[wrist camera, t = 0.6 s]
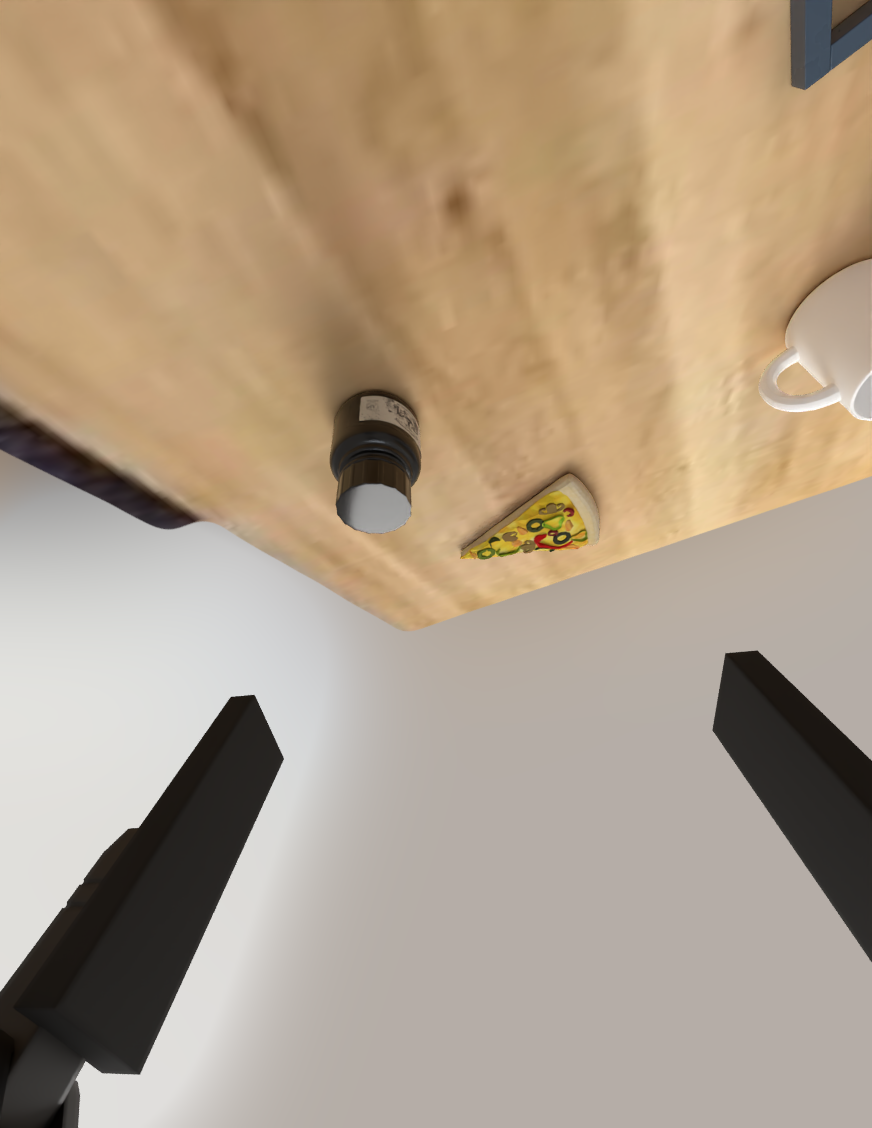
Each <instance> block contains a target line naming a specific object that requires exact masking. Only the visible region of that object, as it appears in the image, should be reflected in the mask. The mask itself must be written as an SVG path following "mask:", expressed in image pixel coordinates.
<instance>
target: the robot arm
mask: <svg viewBox="0 0 872 1128" xmlns="http://www.w3.org/2000/svg"><path fill="white" fill-rule="evenodd" d="M713 732H714V733H715V734H716V736H717V737H718V739H719V740H720V742H721V743H722V745H723V746H724V748H725V749H726V751H727V752H728V753H729V755H730V756H731V758H732V759H733V760H734V762H735V764H736V765H737V767H738V768H739V769H740V771H741V772H742V774H743V775H744V777H745V778H746V780H747V781H748V783H749V784H750V785H751V787H752V788H753V790H754V791H755V793H756V794H757V796H758V797H759V798H760V800H761V802H762V803H763V804H764V806H765V807H766V808H767V810H768V812H769V813H770V815H771V816H772V818H773V819H774V820H775V822H776V823H777V825H778V826H779V828H780V829H781V831H782V832H783V834H784V835H785V836H786V838H787V839H788V840H789V842H790V844H791V845H792V846H793V848H794V850H795V851H796V852H797V854H798V855H799V857H800V858H801V860H802V861H803V863H804V864H805V866H806V867H807V868H808V870H809V871H810V873H811V874H812V876H813V877H814V879H815V880H816V882H817V883H818V885H819V886H820V887H821V889H822V890H823V892H824V893H825V894H826V896H827V898H828V899H829V901H830V902H831V903H832V905H833V906H834V908H835V909H836V911H837V912H838V914H839V915H840V916H841V918H842V919H843V921H844V922H845V924H846V925H847V927H848V928H849V930H850V931H851V932H852V934H853V935H854V937H855V938H856V940H857V941H858V943H859V944H860V946H861V947H862V948H863V950H864V951H865V953H866V954H867V956H868V957H869V959H870V960H871V962H872V761H871V760H870V759H869V758H868V757H867V756H866V755H865V754H864V753H863V752H862V751H861V750H860V749H859V748H858V747H857V746H856V745H855V744H854V743H853V742H852V741H851V740H850V739H849V738H848V737H847V736H846V735H844V734H843V733H842V732H841V731H840V730H839V729H838V728H837V727H836V726H835V725H834V724H833V723H832V722H831V721H830V720H829V719H828V718H827V717H826V716H825V715H824V714H823V713H822V712H821V711H820V710H819V709H817V708H816V707H815V706H814V705H813V704H812V703H811V702H810V701H809V700H808V699H807V698H806V697H805V696H804V695H803V694H802V693H801V692H800V691H799V690H798V689H797V688H796V687H795V686H794V685H793V684H792V683H790V682H789V681H788V680H787V679H786V678H785V677H784V676H783V675H782V674H781V673H780V672H779V671H778V670H777V669H776V668H775V667H774V666H773V665H772V664H771V663H770V662H769V661H768V660H767V659H766V658H765V657H763V655H761V654H760V653H759V652H758V651H748V652H736V653H726V654H725V660H724V665H723V671H722V677H721V683H720V689H719V695H718V701H717V707H716V713H715V719H714V725H713ZM283 760H284V758H283V756H282V753H281V751H280V749H279V747H278V745H277V743H276V740H275V738H274V736H273V734H272V732H271V729H270V727H269V725H268V723H267V721H266V719H265V716H264V714H263V712H262V710H261V708H260V706H259V703H258V701H257V699H256V697H255V695H248V696H236V697H231V698H230V699H229V700H228V702H227V703H226V705H225V706H224V708H223V709H222V711H221V712H220V713H219V715H218V716H217V718H216V719H215V720H214V722H213V723H212V725H211V726H210V727H209V729H208V730H207V732H206V733H205V735H204V736H203V737H202V739H201V740H200V742H199V743H198V745H197V746H196V747H195V749H194V750H193V752H192V753H191V754H190V756H189V757H188V759H187V760H186V762H185V763H184V764H183V766H182V767H181V769H180V770H179V771H178V773H177V774H176V776H175V777H174V779H173V780H172V782H171V783H170V785H169V786H168V787H167V789H166V790H165V792H164V793H163V794H162V796H161V797H160V799H159V800H158V801H157V803H156V804H155V806H154V807H153V808H152V810H151V811H150V813H149V814H148V816H147V817H146V818H145V820H144V821H143V823H142V824H141V826H140V827H139V828H131V829H128V830H127V831H126V832H125V833H124V834H123V835H121V836H120V837H119V838H118V839H117V840H116V841H115V842H114V843H113V844H112V845H111V846H110V847H109V848H108V849H107V850H106V851H104V853H103V854H102V855H101V857H100V858H99V859H98V861H97V862H96V864H95V865H94V866H93V867H92V869H91V870H90V872H89V873H88V874H87V876H86V877H85V878H84V883H83V884H82V885H79V886H78V888H77V889H76V890H75V892H74V893H73V895H72V896H71V897H70V899H69V900H68V901H67V906H66V907H65V908H62V909H61V911H60V912H59V914H58V915H57V916H56V918H55V919H54V920H53V922H52V923H51V924H50V926H49V927H48V928H47V930H46V931H45V933H44V934H43V935H42V936H41V938H40V939H39V941H38V942H37V943H36V945H35V946H34V947H33V949H32V950H31V951H30V953H29V954H28V955H27V957H26V958H25V959H24V961H23V962H22V964H21V965H20V966H19V968H18V969H17V970H16V972H15V973H14V974H13V976H12V977H11V978H10V980H9V981H8V982H7V984H6V985H5V986H4V988H3V989H2V990H1V992H0V1128H78V1117H79V1102H80V1094H79V1088H78V1082H77V1081H75V1079H76V1077H77V1076H78V1074H79V1072H80V1070H81V1068H82V1067H83V1065H84V1063H85V1061H86V1062H88V1063H89V1064H91V1065H92V1066H93V1067H95V1068H96V1069H97V1070H99V1071H100V1072H101V1073H112V1074H113V1073H115V1074H140V1073H141V1071H142V1068H143V1066H144V1064H145V1062H146V1059H147V1058H148V1055H149V1053H150V1051H151V1049H152V1046H153V1044H154V1042H155V1040H156V1038H157V1036H158V1033H159V1031H160V1029H161V1027H162V1025H163V1022H164V1020H165V1018H166V1016H167V1014H168V1011H169V1009H170V1007H171V1005H172V1003H173V1001H174V998H175V996H176V994H177V992H178V989H179V987H180V985H181V983H182V981H183V979H184V977H185V974H186V972H187V970H188V968H189V966H190V963H191V961H192V959H193V956H194V954H195V952H196V950H197V948H198V946H199V944H200V942H201V939H202V937H203V935H204V933H205V931H206V928H207V926H208V924H209V922H210V920H211V917H212V915H213V913H214V911H215V909H216V906H217V904H218V902H219V900H220V898H221V895H222V893H223V891H224V889H225V887H226V884H227V882H228V880H229V878H230V876H231V873H232V871H233V869H234V867H235V865H236V863H237V860H238V858H239V856H240V854H241V852H242V850H243V847H244V845H245V843H246V841H247V838H248V836H249V834H250V832H251V830H252V828H253V825H254V823H255V821H256V819H257V817H258V814H259V812H260V810H261V808H262V806H263V803H264V801H265V799H266V797H267V795H268V793H269V790H270V788H271V786H272V784H273V782H274V779H275V777H276V775H277V772H278V771H279V768H280V766H281V764H282V762H283Z"/></svg>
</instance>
